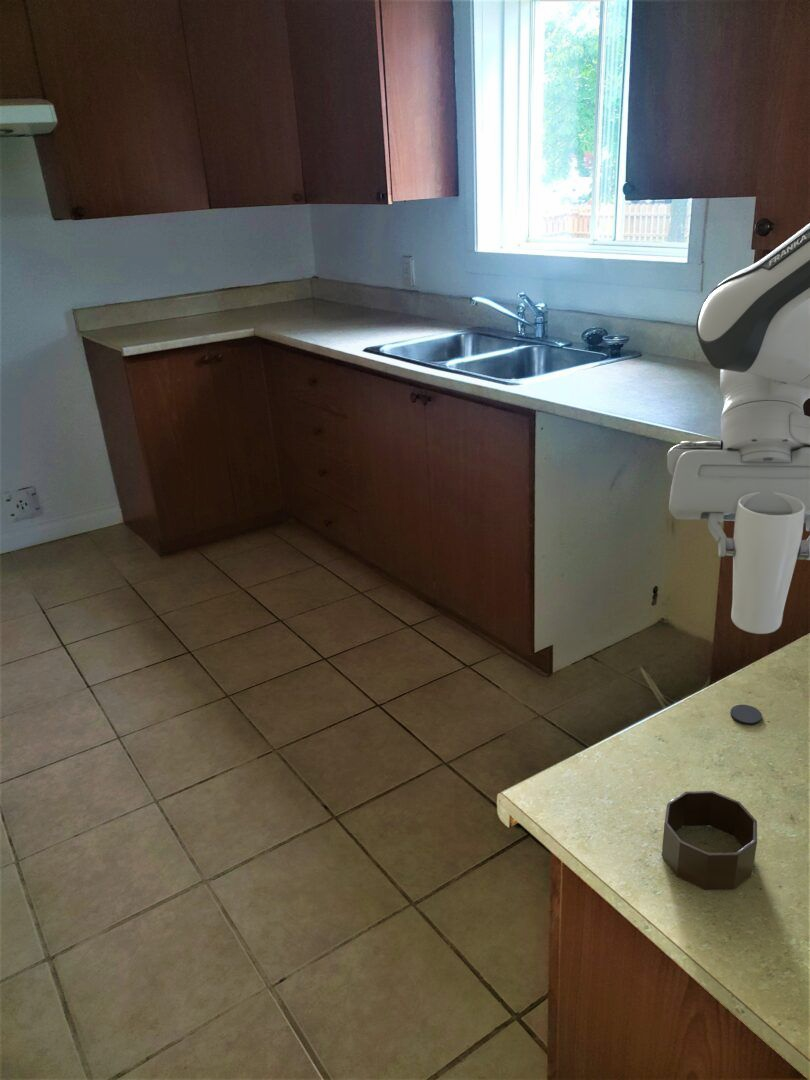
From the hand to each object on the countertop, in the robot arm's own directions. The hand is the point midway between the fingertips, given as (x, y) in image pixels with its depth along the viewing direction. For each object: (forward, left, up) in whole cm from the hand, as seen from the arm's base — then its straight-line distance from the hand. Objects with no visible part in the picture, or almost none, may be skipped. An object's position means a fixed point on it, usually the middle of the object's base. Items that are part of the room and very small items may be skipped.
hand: (766, 557), depth 89 cm
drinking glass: (0, -1, -9) cm, 9 cm away
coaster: (0, -2, -23) cm, 23 cm away
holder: (+3, +22, -23) cm, 32 cm away
